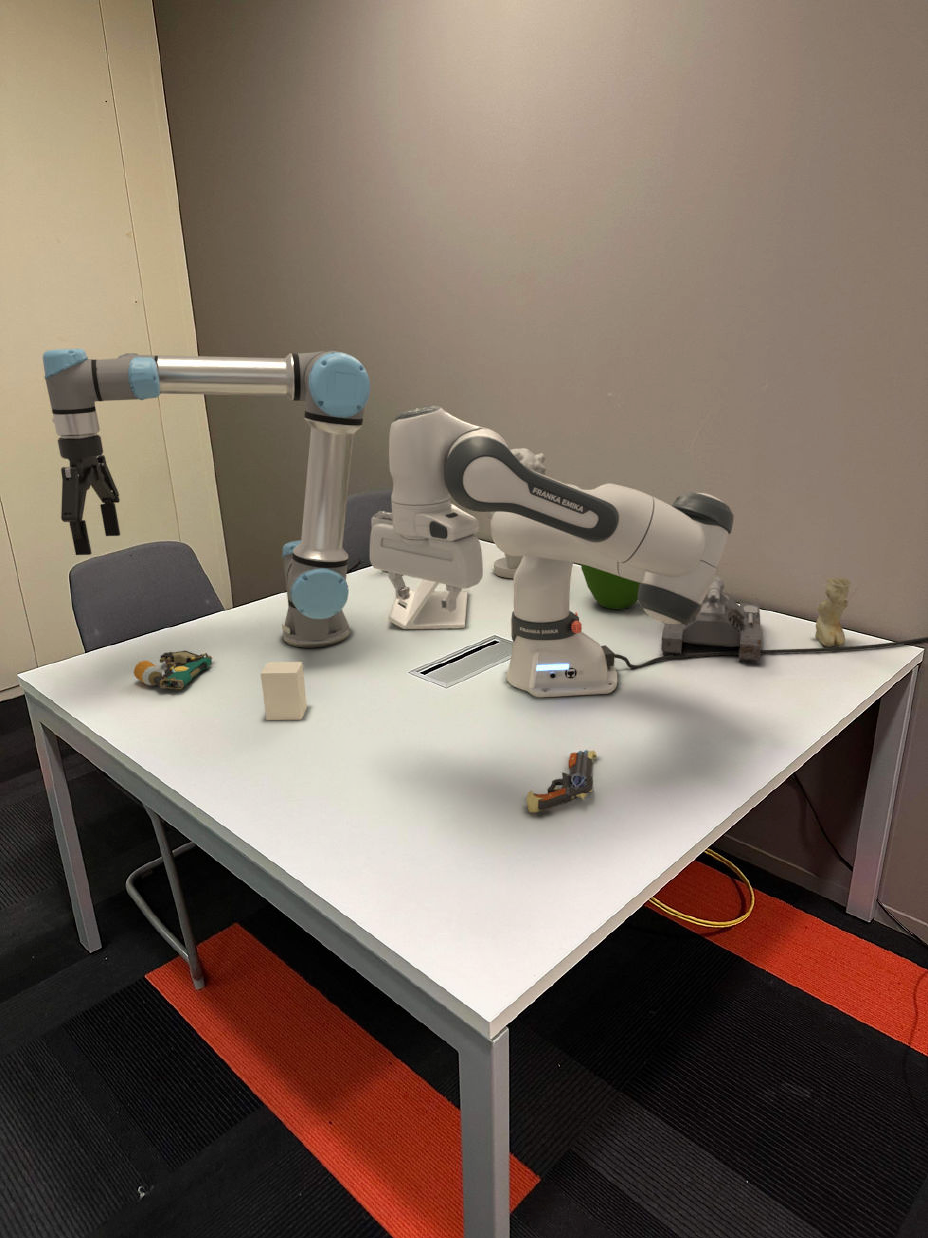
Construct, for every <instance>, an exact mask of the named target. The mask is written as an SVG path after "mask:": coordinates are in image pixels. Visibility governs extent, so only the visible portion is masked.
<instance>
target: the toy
mask: <svg viewBox="0 0 928 1238" xmlns="http://www.w3.org/2000/svg"><path fill="white" fill-rule="evenodd" d="M724 589H725V582H724V580H723V579H722V578H721V577H720V576H717V575H716V577H715V579H714V581H713V583H712V585H711V587H710V589H709V591H708V593H707V595H706V597H705V598H704V600H703V602H702V603H701V606H702V608H701V609H700V611H699V613H698V614H697V616H696V617H695V618H694V619H693V621H692V622H689V623H686V624H667V623H663V624H664V625H663V629H662V635H661V648H660V649H661V652H662V655H666V656H670V655H680V654H682V650H683V643H686V644H690V645H703V646H715V647H727V648H734V647H738V651H739V654H738V660H739V661H740V660H742V661H755V662H758V660H760V657H761V653H760V652H761V650H762V628H761V610H760V609H761V608H760V603H751V602H750V603H749V602H740V603H737V602H736V601H735V600H734V599H732V597H730V595H727V594H725V593H724Z"/></svg>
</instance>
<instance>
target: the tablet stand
mask: <svg viewBox="0 0 928 1238" xmlns="http://www.w3.org/2000/svg"><path fill="white" fill-rule="evenodd" d="M438 585H440V583H437V582H433V581H428V580H424V579H421V581H420V583H419V584H418V585H417V587H416V589H415V590H412V589H410V592H409V593H410V597H409V598H408V599H406V600H401V599H397V598H396V597H395V598H394V601H393V604H392V607H391V610H390V612H389V613H390V614H389V617H388V621H389V622H391V623H392V624H394V625H396V626H398V627H399V628H401V629H402V630H426V629H427V630H429V629H430V630H431V629H435V630H436V629H437V630H438V629H464V628H465V627H466V618H467V617H466V616H467V605H468V591H467V590H461V592H460V593H459V595H458V597H457V599H456V609H455V610H454V611H452V612H449V611H445V610H442V602H441V600H443V599H446V598H447V596H448V594H449V591H447V590H436V589H437V587H438ZM399 603H400V604H399ZM402 605H403V606H405V607H403V606H402Z"/></svg>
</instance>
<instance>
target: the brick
mask: <svg viewBox="0 0 928 1238" xmlns="http://www.w3.org/2000/svg"><path fill="white" fill-rule="evenodd" d="M260 679H261V687H262V694H263V695H262V696H263V703H264V710H265V711H264V712H265V720H266V721H284V720H285V721H287V720H288V721H289V720H290V721H294V720H296V721H297V720H298V721H299V720H303V717H304V716H305V713H306V712H307V709H308V705H307V694H306V685H305V675H304V666H303V661H282V662H281V661H279V662H278V661H277V662H275V661H274V662H271V661H270V662H266V664H265V665H264V667H263V669H262V670H261V672H260Z"/></svg>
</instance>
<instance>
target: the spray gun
mask: <svg viewBox="0 0 928 1238" xmlns="http://www.w3.org/2000/svg"><path fill="white" fill-rule="evenodd" d="M212 660H213V657H212V656H211V655H208V653H207V652H205V653H201V654H197V653H194V652H192V651H191V652H190V651H188V650H180V651H169V652H164V653H162V654H161V655H160V658H159V660H158V662H159V663H161V664H163V663H165V664H166V668H165V670H163V672H164V674H163V673H162V669H160V668H159V666H157V665H156V664H154V663H152V662H151V661H149V660H141V661H139V662H138V663H136V665H135V666H134V668H133V675H134V677H135V678H136V679H137V680H139V681H140V682H142V683H143V684H145V685H147V686H155V685H157V686H158V687H160V688H161V689H171V690H172V689H173V690H182V689H184V687H185V686H186V685H188V684H189V683H190V682H191V681H192V679H193V678H195V677H196V676H197V675H198V674H200V673H201V672H202V671H203V670H206V669H208V668H209V667H210V666H211V665H212V662H213V661H212ZM178 663H179V664H181V665H179V666H176V665H177V664H178Z"/></svg>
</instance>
